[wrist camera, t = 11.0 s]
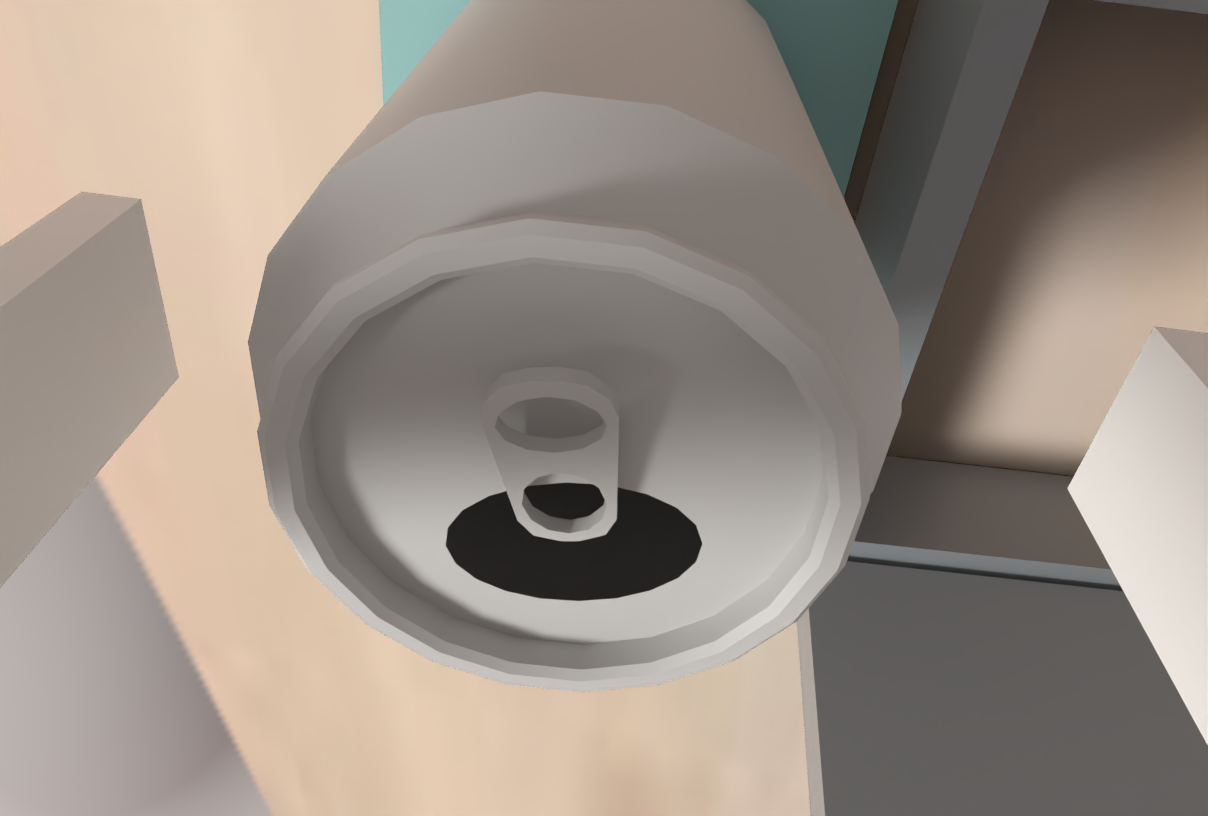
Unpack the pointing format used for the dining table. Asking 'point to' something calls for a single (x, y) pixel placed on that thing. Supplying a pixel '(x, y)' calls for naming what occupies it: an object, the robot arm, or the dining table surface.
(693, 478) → the can
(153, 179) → the dining table surface
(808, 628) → the case
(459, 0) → the pad
